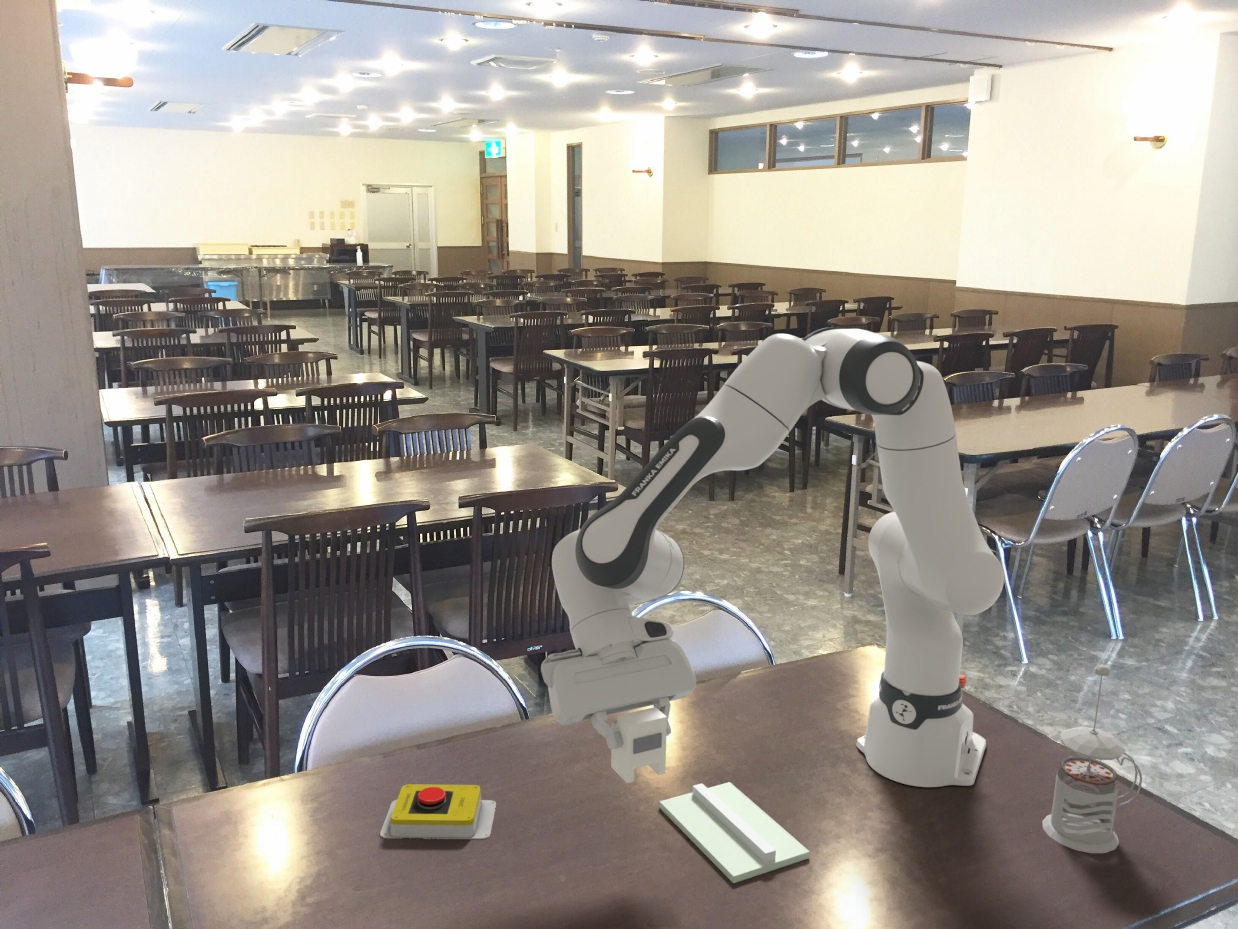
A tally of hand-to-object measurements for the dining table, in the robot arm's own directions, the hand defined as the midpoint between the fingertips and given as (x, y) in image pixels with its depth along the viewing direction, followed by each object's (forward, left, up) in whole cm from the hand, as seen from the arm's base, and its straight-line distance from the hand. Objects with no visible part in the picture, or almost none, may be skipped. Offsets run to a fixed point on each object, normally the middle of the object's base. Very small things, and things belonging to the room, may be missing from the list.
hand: (641, 741), depth 128 cm
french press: (-44, +45, -16) cm, 65 cm away
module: (0, -1, -4) cm, 4 cm away
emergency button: (+12, -26, -17) cm, 33 cm away
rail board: (-12, +7, -16) cm, 21 cm away
